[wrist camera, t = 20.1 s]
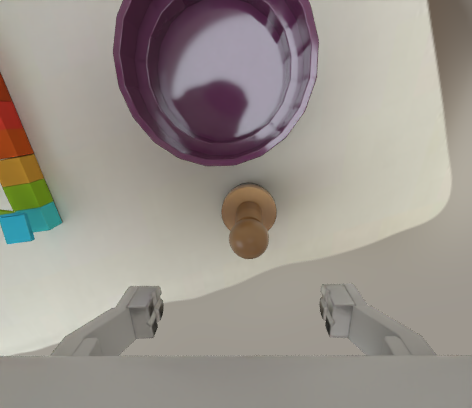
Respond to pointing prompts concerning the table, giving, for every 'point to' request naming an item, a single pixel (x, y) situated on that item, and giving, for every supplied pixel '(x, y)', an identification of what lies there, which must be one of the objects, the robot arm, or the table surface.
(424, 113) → the table surface
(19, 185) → the chart
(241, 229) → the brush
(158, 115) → the bowl
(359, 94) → the table surface
